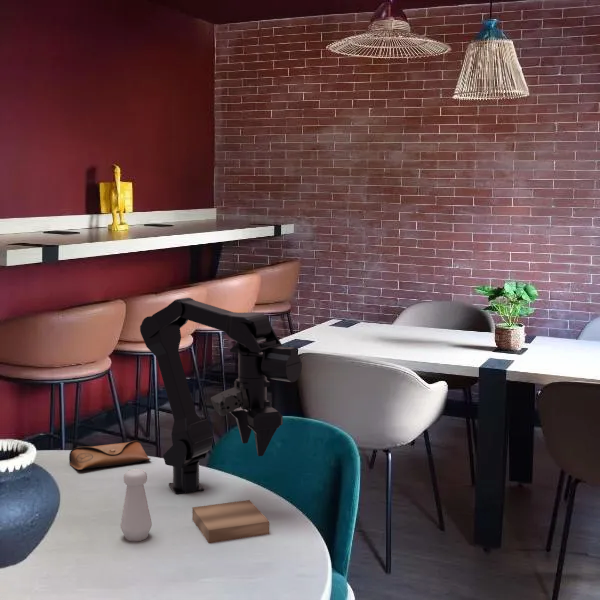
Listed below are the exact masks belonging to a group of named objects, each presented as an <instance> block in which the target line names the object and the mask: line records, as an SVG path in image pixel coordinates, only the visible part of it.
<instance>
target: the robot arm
mask: <svg viewBox="0 0 600 600" xmlns="http://www.w3.org/2000/svg"><path fill="white" fill-rule="evenodd" d="M188 321H190V322H193V323H196V324H200V325H203V326H205V327H208V328H212V329H215V330H217V331H221V332H223V333H225V334H226V335H227V336H228V338H229V339H231V340H233V341H234V342H236V343H235V344H234V346H232V347H230V349H229V353H232V354H238V378H236V379H235V380H234V382H233V384H234V385H233V387H231V388H228V389H225V390H223V391H221V392H219V393H217V394H215V395H213V396H211V397H210V402H211V403H212V407H213V410H214V411H215V413H217V414H218V415H219V416H220V417H224V416H225V417H226V416H227V415H229V413H230V414H231V415H232V416H233V417H234V418H235V421H236V424H237V428H238V432H239V436H240V439H241V442H242V444H248V443H249V439H250V437H251V434H252V431H253V435H254V439H255V440H254V441H255V447H256V452H257V453H256V454H257V456H258V457H263V456H264V455H265V453H266V451H267V449H268V446H269V445H270V443H271V440H272V438H273V436H274V435H275V434H276V432H277V430H278V429H279V428H280V426H282V425H283V417H284V416H283V414H282V413H281V412H280V411H279V410H277V409H276V408H274V407H270V406H271V402H270V400H269V399H268V398H267V388H270V386H271V382H270V381H269V380H268V379H270V380H276V381H280V382H281V381H282V382H289V383H295V382H296V381H297V380H299V378H300V376H301V374H302V371H303V370H302V369H303V363H302V360H301V358H300V356H299V355H298V354H297V348H296V347H293V346H290V347H286V346H283V344H282V342H281V341H280V339H279V337H278V335H277V334H276V332H275V331H274V329H273V327H272V324H271V321H270V319H269V317H268V316H267V315H266V314H263V313H259V312H258V313H257V312H256V313H255V312H236V311H235V312H234V311H230V310H228V309H225V308H221V307H218V306H215V305H211V304H208V303H205V302H201V301H198V300H195V299H193V298H191V297H184V298H177V299H174V300H173V301H172V302H170V303H169V304H168V305H167V306H165V307H163V308H161V309H160V310H159V311H157V312H155V313H154V314H152V315H149V316H146V317H145V318H144V319H143V320H142V322H141V324H140V326H139V330H140V331H139V332H140V335H141V337H142V340H143V342H144V344H145V346H146V348H147V349H148V350H149V351H150V352H151V353H152V354H153V355H154V356H155V357H156V361H157V364H158V368H159V372H160V375H161V379H162V381H163V385H164V389H165V392H166V393H165V394H166V395H167V400H168V403H169V407H170V410H171V413H172V417H173V425H172V430H171V441H172V445H171V446H170V448H169V449H168V450H166V452H165V453H164V454H163V460H164V465H166V466H169V467H172V478H173V479H172V482H169V483H168V486H169V488H170V489H171V491H172V492H173V493H174V494H175V495H182V494H189V493H190V494H191V493H198V492H204V491H205V487H204V486H203V485H202V484H201V483H200V461H201V460H203V459H206V458H207V457H208V454H209V451H210V450H211V447H212V446H213V437H214V434H213V432H212V430H211V426H210V425H211V424H210V422H209V420H208V418H206V419H202V418H201V417H200V416H199V415H198V414H197V412H196V408H195V405H194V401H193V398H192V395H191V391H190V388H189V387H190V386H189V384H188V380H187V378H186V377H187V376H186V374H185V370H184V366H183V362H182V359H181V356H180V355H181V354H180V352H179V349H180V345H181V340H182V333H181V328H183V327H184V326H185V325H186V324H187V323H188Z"/></svg>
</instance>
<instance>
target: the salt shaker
mask: <svg viewBox="0 0 600 600" xmlns="http://www.w3.org/2000/svg"><path fill="white" fill-rule="evenodd" d="M147 482H148V473H147V471H145V470H144V469H141V468H133V469H128V470H126V471H125V472H124V475H123V483H124V484H125V485H126V490H125V496H124V503H123V509H122V514H121V521H120V529H121V532H122V535H124V539H126V540H127V541H129V542H140V541H143V540H146V539H148V536H149V535H150V534H149V533H150V531H151V528H152V526H153V523H152V519H151V518H152V517H151V514H150V513H151V512H150V509H149V503H148V499H147V494H146V490H145V486H144V485H145V484H146V483H147Z"/></svg>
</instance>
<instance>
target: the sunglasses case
mask: <svg viewBox="0 0 600 600" xmlns="http://www.w3.org/2000/svg"><path fill="white" fill-rule="evenodd" d="M148 460H152V459H151V458H150V457H148V455H147V453H146V452H145V450H144V447H143V445H142V443H141V441H140V440H132V441H128V442H120V443H118V442H117V443H110V444H102V445H95V446H77V447H74V448H72V449H71V450H70V452H69V457H68V461H69V465H70V466H71V467H72V468H73V469H75V470H78V471H79V470H86V469H92V468H93V469H95V468H104V467H112V466H122V465H124V466H125V465H131V464H136V463H140V462H145V461H148Z"/></svg>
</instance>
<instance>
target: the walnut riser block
mask: <svg viewBox="0 0 600 600" xmlns="http://www.w3.org/2000/svg"><path fill="white" fill-rule="evenodd" d="M191 509H192V512H191V513H192V515H191V516H192V522H194V524H195V526H196V527H197V528H198V530H199V531H200V533H201V534H202V536H203V537H204V538H205V540H206V541H207V543H208V544H213V543H219V542H220V543H221V542H226V541H232V540H233V541H234V540H239V539H245V538H251V537H259V536H266V535H270V520H269V519H268V518H267V517H266V516H265V515H264V514H263V513H262V511H261V510H259V508H258V507H257V506H256V505H255V504H254V503H253V502H252V501H251V500H250V499H245V500H238V501H232V502H231V501H230V502H223V503H216V504H207V505H202V506H201V505H200V506H194V507H191Z"/></svg>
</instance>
